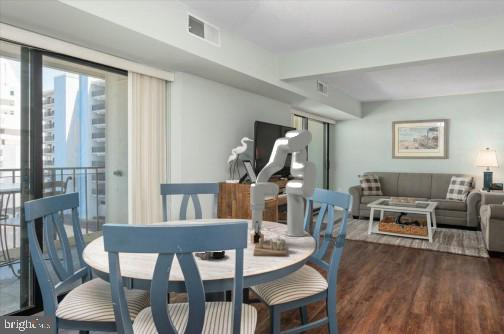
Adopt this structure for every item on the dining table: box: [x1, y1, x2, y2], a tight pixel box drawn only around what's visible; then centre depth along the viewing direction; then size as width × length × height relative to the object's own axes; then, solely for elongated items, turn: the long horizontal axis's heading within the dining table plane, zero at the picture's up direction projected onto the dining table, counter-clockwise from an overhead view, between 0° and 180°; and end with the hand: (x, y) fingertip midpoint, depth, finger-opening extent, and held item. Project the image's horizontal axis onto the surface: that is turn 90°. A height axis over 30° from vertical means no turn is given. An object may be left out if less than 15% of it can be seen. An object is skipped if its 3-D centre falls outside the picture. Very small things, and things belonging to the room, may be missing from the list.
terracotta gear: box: [250, 233, 265, 244], centre depth 180 cm, size 7×7×4 cm
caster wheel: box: [194, 250, 226, 261], centre depth 153 cm, size 7×11×10 cm
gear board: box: [253, 237, 288, 258], centre depth 164 cm, size 18×15×6 cm
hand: (257, 240), depth 180 cm, fingers closed on terracotta gear, 6 cm apart
